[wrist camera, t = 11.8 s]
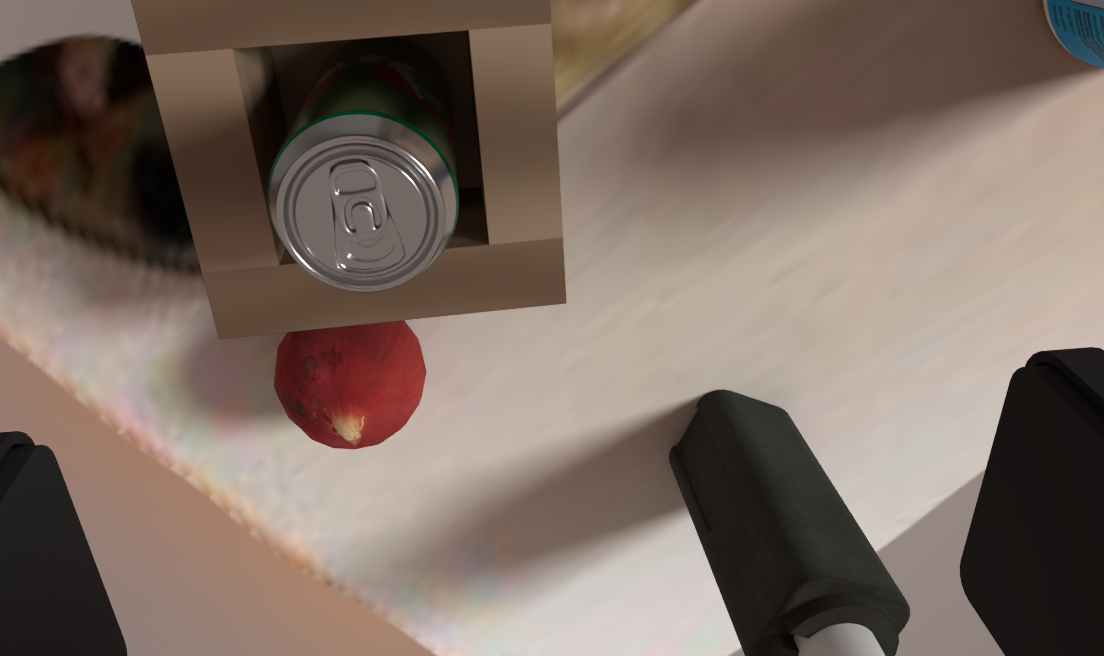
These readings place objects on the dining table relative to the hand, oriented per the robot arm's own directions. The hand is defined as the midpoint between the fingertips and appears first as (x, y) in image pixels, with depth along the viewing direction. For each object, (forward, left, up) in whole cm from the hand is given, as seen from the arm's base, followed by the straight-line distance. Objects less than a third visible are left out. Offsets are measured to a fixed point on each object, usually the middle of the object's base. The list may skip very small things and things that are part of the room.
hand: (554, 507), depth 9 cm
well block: (+2, -3, -28) cm, 29 cm away
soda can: (+2, -3, -28) cm, 28 cm away
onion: (+12, -6, -29) cm, 32 cm away
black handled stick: (+20, +11, -29) cm, 37 cm away
